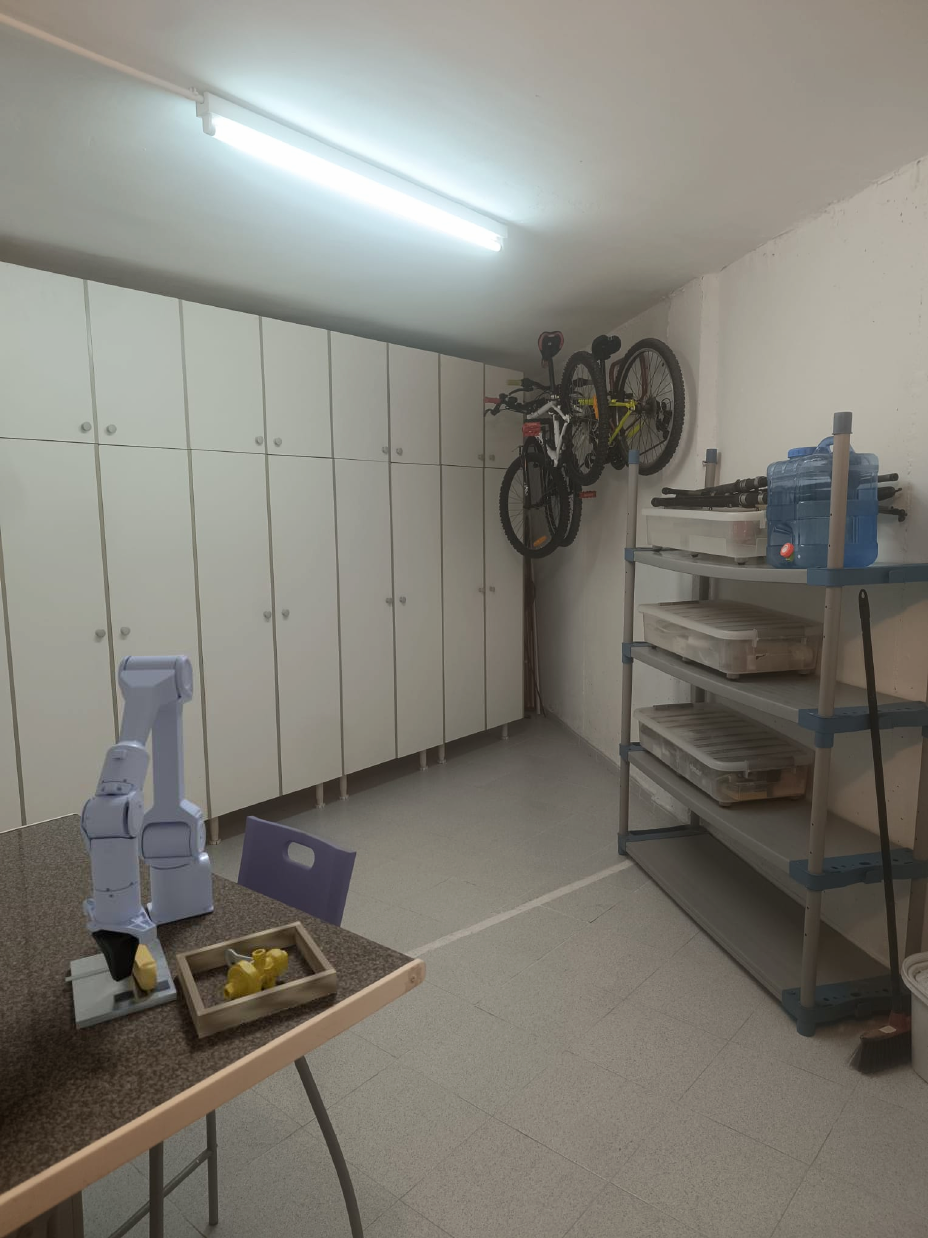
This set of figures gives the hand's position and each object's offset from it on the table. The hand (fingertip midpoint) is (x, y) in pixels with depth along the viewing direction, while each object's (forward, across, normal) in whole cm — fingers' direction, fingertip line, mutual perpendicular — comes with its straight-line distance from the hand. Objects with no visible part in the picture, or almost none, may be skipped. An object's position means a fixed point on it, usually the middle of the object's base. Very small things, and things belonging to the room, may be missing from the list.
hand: (122, 977), depth 100 cm
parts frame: (+2, +13, +12) cm, 18 cm away
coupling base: (+2, -3, +1) cm, 4 cm away
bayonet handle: (+1, -1, +3) cm, 3 cm away
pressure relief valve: (+3, +12, +10) cm, 16 cm away
